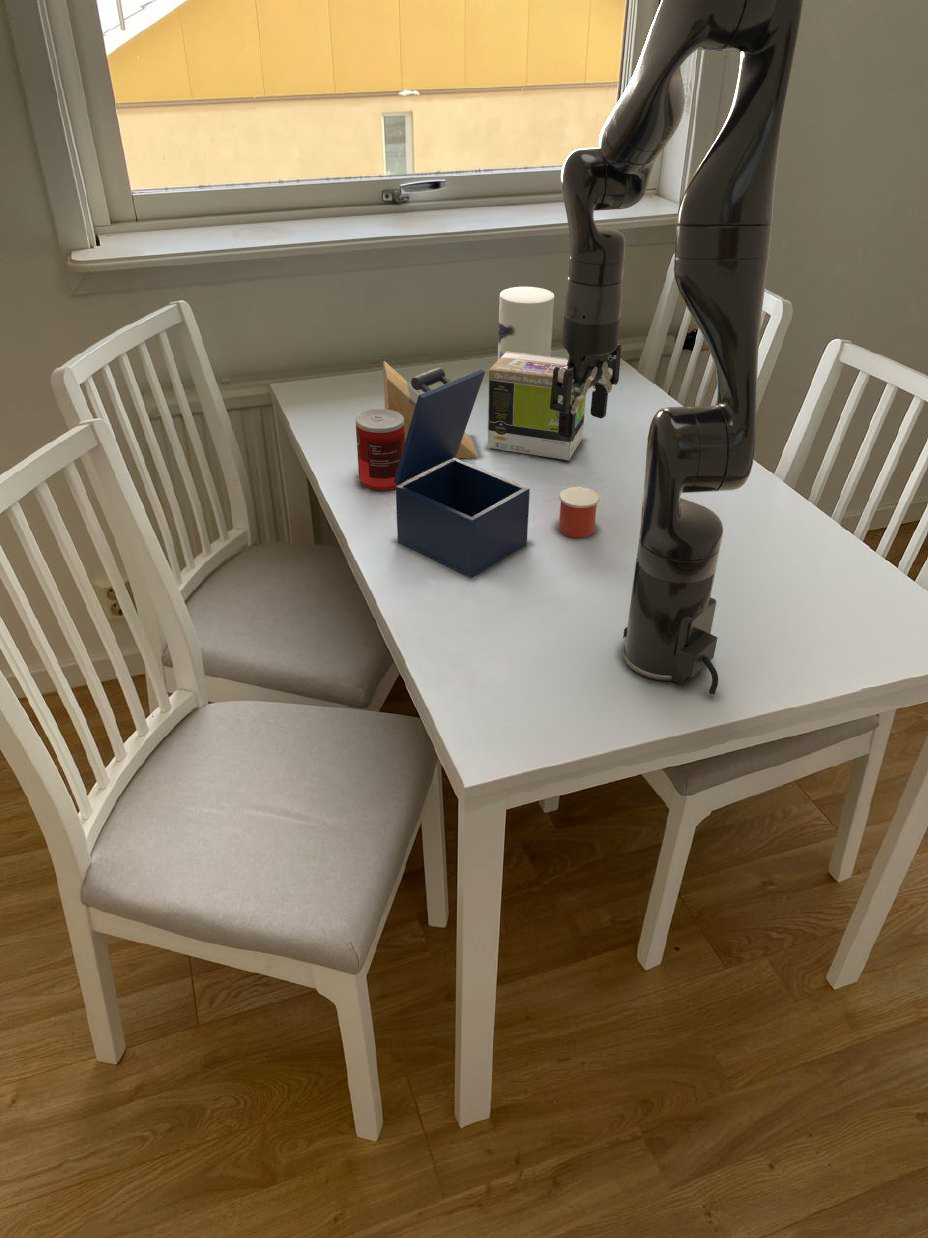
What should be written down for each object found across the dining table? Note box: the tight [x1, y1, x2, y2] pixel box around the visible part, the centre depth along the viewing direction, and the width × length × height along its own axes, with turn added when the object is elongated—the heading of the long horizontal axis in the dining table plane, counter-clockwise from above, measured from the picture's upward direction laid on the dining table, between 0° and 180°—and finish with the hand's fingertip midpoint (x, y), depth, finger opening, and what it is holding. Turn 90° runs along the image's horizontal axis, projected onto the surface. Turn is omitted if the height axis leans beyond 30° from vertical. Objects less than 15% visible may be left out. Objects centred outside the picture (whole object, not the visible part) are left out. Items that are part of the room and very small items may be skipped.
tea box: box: [487, 351, 587, 461], centre depth 167 cm, size 15×10×15 cm, turn 70°
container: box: [497, 286, 555, 361], centre depth 182 cm, size 10×10×20 cm
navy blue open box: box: [395, 458, 531, 579], centre depth 141 cm, size 15×13×9 cm
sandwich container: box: [382, 360, 479, 459], centre depth 165 cm, size 9×15×15 cm, turn 99°
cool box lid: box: [394, 367, 486, 485], centre depth 137 cm, size 16×13×5 cm
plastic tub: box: [558, 486, 600, 538], centre depth 146 cm, size 6×6×6 cm
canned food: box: [355, 408, 405, 492], centre depth 156 cm, size 8×8×11 cm
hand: (582, 425), depth 137 cm, fingers open, 8 cm apart
